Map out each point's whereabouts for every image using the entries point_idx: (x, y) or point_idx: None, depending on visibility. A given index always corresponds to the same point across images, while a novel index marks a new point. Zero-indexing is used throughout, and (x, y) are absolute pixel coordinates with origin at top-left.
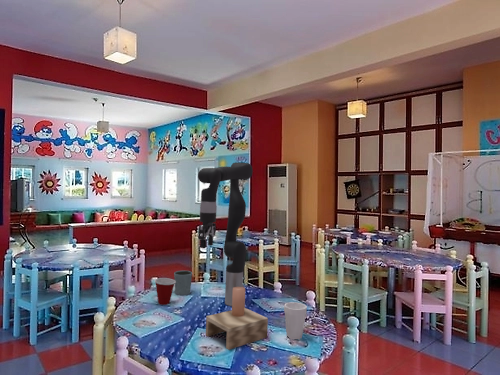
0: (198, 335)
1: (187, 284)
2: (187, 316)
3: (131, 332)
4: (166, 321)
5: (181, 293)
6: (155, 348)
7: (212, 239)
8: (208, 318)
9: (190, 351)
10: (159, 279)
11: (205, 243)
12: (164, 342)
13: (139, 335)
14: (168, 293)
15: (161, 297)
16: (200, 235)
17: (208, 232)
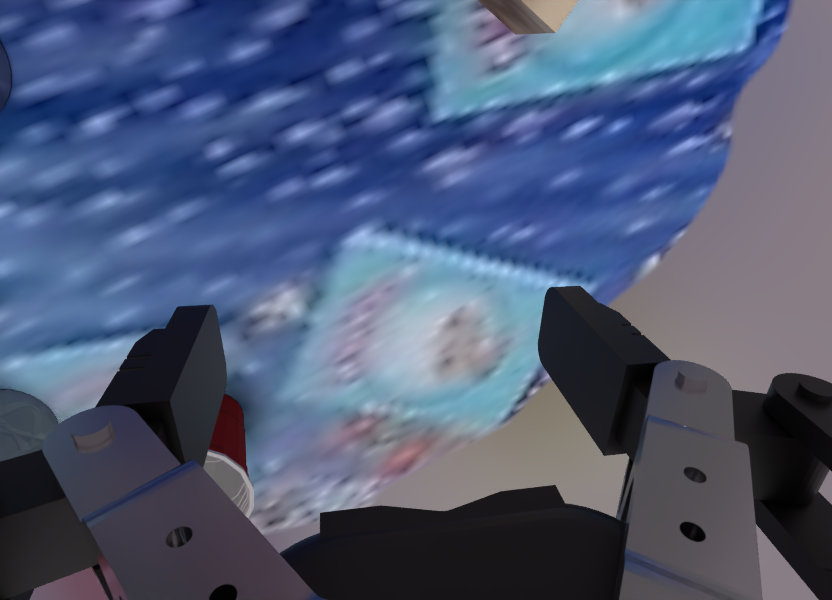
0: (524, 71)
1: None
2: (322, 233)
3: None
4: (419, 286)
5: (46, 417)
6: (672, 185)
7: (182, 373)
8: (568, 11)
9: (685, 32)
10: None
11: (601, 323)
12: (620, 181)
13: None
14: (218, 425)
15: (244, 433)
16: (779, 518)
17: (689, 489)
